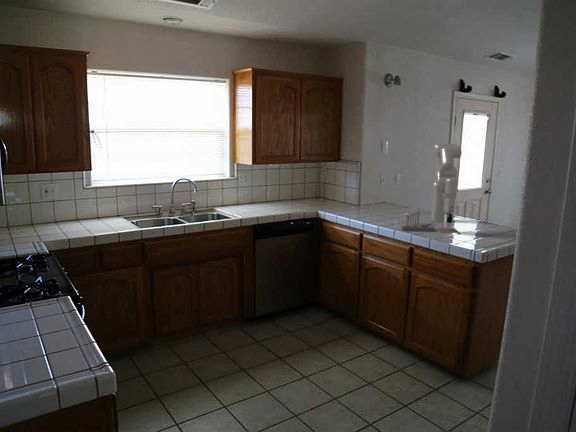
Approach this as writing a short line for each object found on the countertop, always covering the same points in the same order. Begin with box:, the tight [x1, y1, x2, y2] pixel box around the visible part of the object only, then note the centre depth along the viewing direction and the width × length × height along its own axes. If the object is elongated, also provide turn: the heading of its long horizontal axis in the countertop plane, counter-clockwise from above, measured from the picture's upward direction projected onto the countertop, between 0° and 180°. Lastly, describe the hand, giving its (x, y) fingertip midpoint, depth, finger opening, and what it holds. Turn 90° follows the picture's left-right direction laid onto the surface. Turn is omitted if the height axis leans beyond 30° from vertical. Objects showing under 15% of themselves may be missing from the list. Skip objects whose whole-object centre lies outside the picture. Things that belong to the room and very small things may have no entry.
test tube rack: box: [402, 206, 423, 225], centre depth 324 cm, size 25×4×13 cm, turn 142°
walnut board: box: [435, 227, 461, 235], centre depth 309 cm, size 13×13×1 cm
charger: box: [443, 214, 454, 228], centre depth 307 cm, size 4×4×10 cm
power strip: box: [400, 224, 436, 232], centre depth 310 cm, size 7×22×4 cm, turn 86°
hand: (448, 221), depth 307 cm, fingers closed on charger, 4 cm apart
